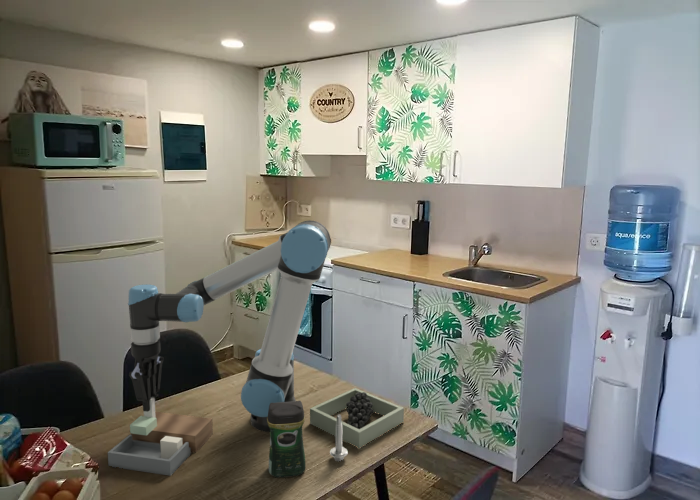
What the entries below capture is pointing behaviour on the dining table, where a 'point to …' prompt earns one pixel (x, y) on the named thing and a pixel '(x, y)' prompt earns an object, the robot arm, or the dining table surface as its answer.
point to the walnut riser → (180, 429)
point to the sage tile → (143, 425)
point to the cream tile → (170, 446)
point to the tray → (146, 457)
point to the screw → (338, 442)
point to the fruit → (359, 410)
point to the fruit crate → (350, 434)
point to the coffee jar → (286, 439)
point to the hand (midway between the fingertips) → (149, 419)
